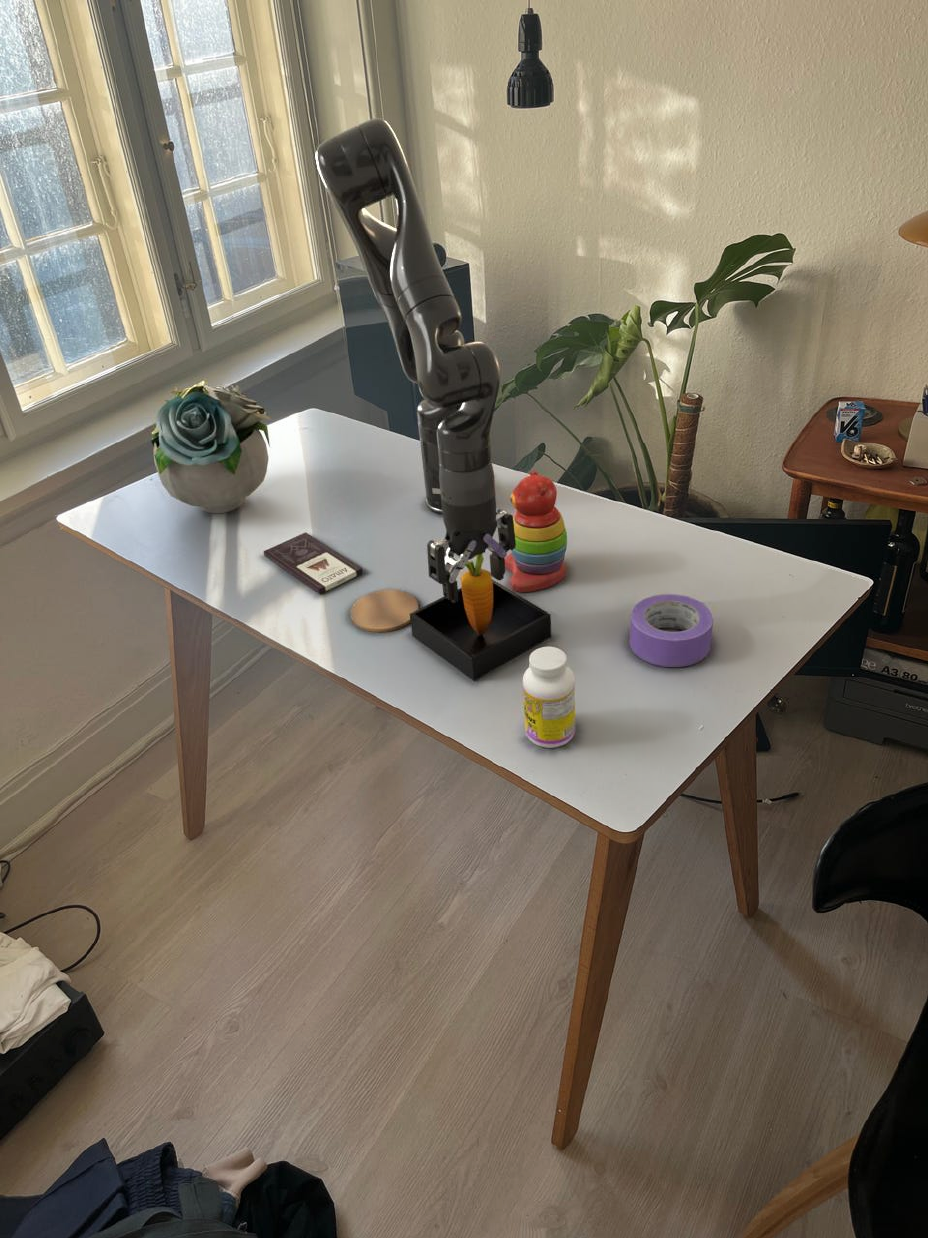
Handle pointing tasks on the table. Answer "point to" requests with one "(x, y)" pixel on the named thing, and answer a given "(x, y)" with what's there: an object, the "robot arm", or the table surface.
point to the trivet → (383, 610)
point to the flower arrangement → (211, 447)
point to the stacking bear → (536, 536)
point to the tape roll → (671, 645)
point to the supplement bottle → (549, 698)
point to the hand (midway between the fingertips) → (475, 588)
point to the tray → (503, 640)
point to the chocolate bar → (313, 562)
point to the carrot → (477, 595)
